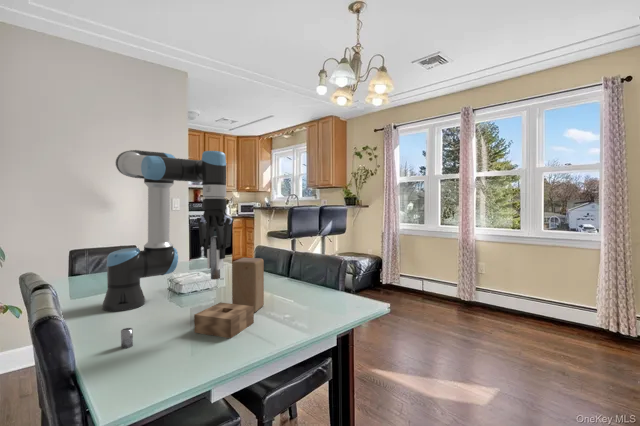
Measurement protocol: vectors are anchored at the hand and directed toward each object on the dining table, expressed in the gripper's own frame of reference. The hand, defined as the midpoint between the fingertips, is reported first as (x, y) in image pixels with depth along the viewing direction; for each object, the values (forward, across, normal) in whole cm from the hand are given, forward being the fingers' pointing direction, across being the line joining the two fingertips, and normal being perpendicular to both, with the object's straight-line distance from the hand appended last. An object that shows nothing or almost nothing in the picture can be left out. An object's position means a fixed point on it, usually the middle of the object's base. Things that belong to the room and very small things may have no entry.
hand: (215, 268), depth 110 cm
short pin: (+21, -17, -20) cm, 33 cm away
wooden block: (+21, -2, +23) cm, 31 cm away
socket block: (+21, +2, +3) cm, 21 cm away
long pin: (+3, 0, 0) cm, 3 cm away
